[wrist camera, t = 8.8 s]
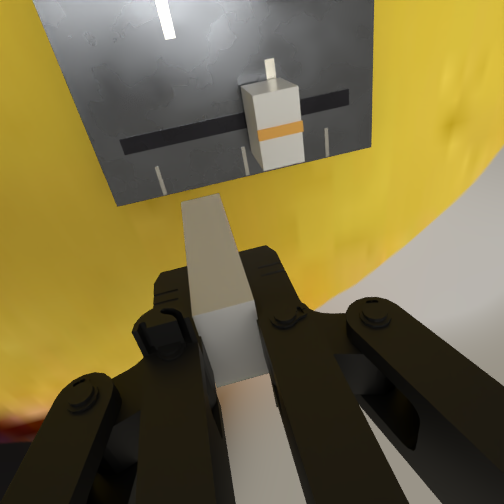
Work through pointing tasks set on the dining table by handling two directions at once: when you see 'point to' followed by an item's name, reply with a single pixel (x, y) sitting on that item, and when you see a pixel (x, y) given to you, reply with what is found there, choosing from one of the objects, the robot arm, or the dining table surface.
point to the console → (207, 82)
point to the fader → (274, 122)
